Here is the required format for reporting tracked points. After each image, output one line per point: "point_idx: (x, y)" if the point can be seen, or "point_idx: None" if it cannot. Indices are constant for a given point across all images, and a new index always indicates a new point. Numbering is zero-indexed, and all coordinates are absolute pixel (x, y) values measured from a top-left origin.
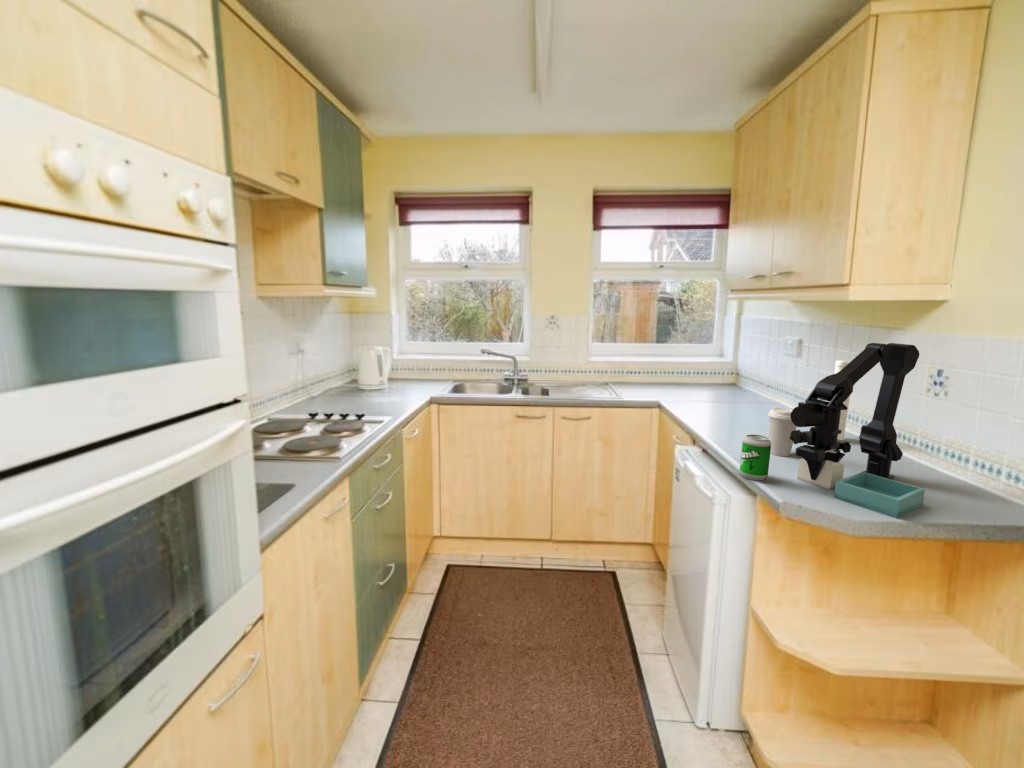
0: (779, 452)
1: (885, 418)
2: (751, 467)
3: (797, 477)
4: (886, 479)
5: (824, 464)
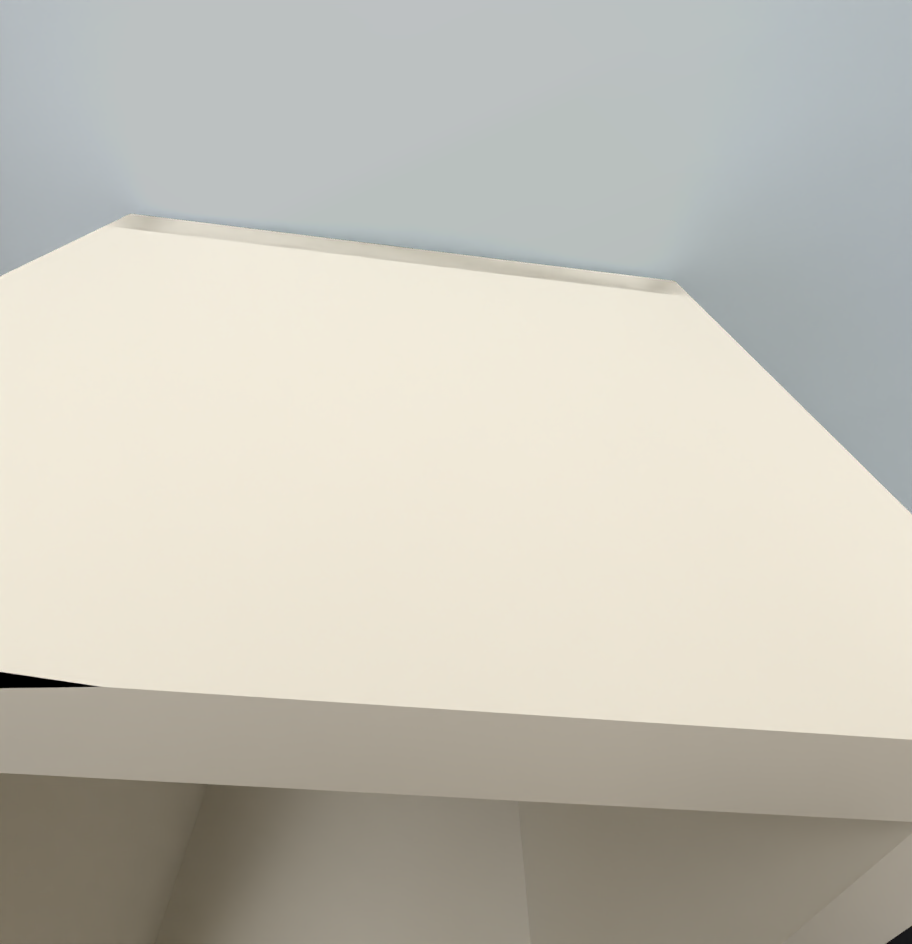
0: None
1: None
2: None
3: (119, 224)
4: None
5: (623, 852)
